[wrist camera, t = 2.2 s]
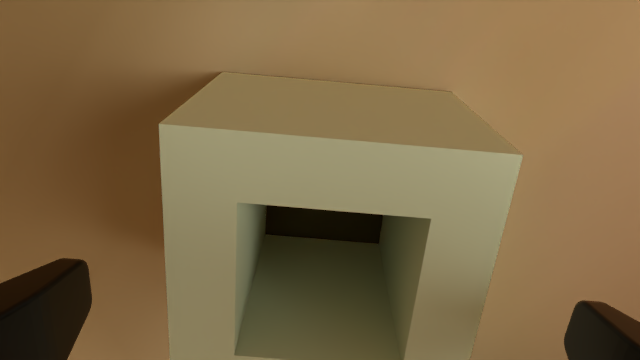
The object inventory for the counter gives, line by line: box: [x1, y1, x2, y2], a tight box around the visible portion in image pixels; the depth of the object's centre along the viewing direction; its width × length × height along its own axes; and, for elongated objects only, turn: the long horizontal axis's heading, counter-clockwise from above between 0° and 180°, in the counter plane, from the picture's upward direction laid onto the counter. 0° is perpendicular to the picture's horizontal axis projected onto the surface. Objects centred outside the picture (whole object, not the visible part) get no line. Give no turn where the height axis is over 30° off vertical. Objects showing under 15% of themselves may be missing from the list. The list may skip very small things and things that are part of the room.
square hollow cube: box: [159, 72, 523, 360], centre depth 11 cm, size 6×6×5 cm
